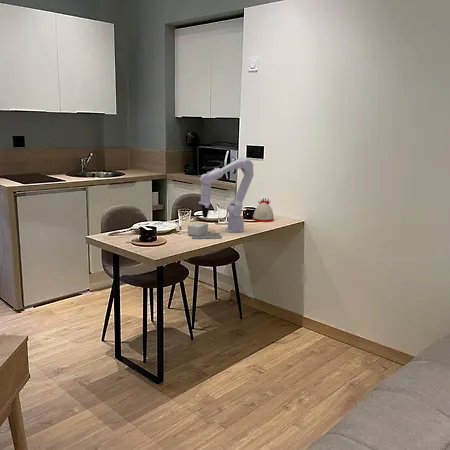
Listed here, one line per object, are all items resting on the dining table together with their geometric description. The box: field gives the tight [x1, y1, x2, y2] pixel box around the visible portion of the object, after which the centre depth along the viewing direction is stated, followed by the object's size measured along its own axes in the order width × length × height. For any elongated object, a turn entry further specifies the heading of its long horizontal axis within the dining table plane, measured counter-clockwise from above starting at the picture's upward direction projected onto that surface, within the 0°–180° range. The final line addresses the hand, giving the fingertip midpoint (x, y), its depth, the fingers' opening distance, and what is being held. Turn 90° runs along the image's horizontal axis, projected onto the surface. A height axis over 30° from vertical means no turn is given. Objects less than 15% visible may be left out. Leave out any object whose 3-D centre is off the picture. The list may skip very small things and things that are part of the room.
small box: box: [187, 221, 209, 236], centre depth 277 cm, size 8×6×10 cm
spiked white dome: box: [252, 197, 275, 223], centre depth 318 cm, size 14×14×15 cm
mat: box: [190, 232, 223, 240], centre depth 274 cm, size 17×10×1 cm, turn 100°
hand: (205, 217), depth 281 cm, fingers closed
